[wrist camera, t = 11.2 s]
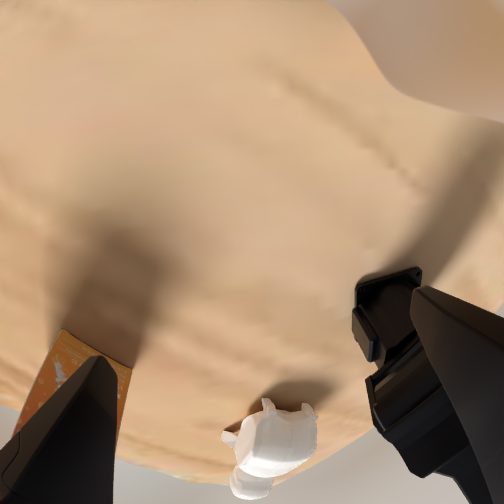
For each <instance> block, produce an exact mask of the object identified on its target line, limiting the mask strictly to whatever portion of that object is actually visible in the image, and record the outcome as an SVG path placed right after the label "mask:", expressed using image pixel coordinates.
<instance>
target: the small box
mask: <svg viewBox="0 0 504 504" xmlns="http://www.w3.org/2000/svg"><path fill="white" fill-rule="evenodd" d="M93 355H103V354H101V353H100V352H98V351H96V350H94V349H93V348H91V347H89V346H88V345H86V344H85V343H83V342H81V341H80V340H78V339H77V338H75V337H74V336H72V335H71V334H69V333H68V332H67V331H65V330H64V329H61V330H60V332H59V334H58V335H57V337H56V339H55V341H54V343H53V345H52V347H51V348H50V350H49V352H48V354H47V356H46V358H45V360H44V362H43V364H42V366H41V368H40V370H39V372H38V374H37V377H36V379H35V381H34V383H33V385H32V387H31V390H30V392H29V394H28V397H27V399H26V401H25V403H24V406H23V408H22V411H21V413H20V416H19V418H18V421H17V423H16V426H15V428H14V431H13V434H12V437H13V436H14V435H15V434H16V433H17V432H18V431H19V430H20V429H21V428H22V426H23V425H24V424H25V423H26V422H27V421H28V420H29V419H30V418H31V417H32V416H33V415H34V414H35V413H36V411H37V410H38V409H39V408H40V407H41V406H42V405H43V404H44V403H45V402H46V401H47V400H48V399H49V398H50V397H51V396H52V395H53V394H54V393H55V391H56V390H57V389H58V388H59V387H60V386H61V385H62V384H63V383H64V382H65V381H66V380H67V379H68V378H69V377H70V376H71V375H72V374H73V373H74V372H75V371H76V370H77V369H78V368H79V367H80V366H81V365H82V364H83V363H84V362H85V361H86V360H87V359H88V358H89V357H90V356H93ZM103 356H105V355H103ZM105 357H106V359H107V360H108V362H109V363H110V365H111V366H112V367H113V369H114V370H115V372H116V374H117V377H118V403H117V434H116V446H117V440H118V435H119V430H120V425H121V420H122V416H123V411H124V406H125V402H126V397H127V392H128V388H129V384H130V379H131V375H132V370H131V369H129V368H127V367H125V366H123V365H121V364H119V363H117V362H115V361H114V360H112V359H110V358H108V357H107V356H105ZM12 437H11V438H12ZM116 446H115V452H116Z"/></svg>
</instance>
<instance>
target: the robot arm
mask: <svg viewBox="0 0 504 504" xmlns="http://www.w3.org/2000/svg"><path fill="white" fill-rule="evenodd" d="M421 279H422V270H421V269H420V268H419V267H414V268H411V269H408V270H404V271H401V272H398V273H394V274H391V275H388V276H384V277H381V278H377V279H374V280H370V281H367V282H363V283H360V284H358V285H357V286H356V287H355V308H353V310H352V332H353V334H354V338H355V340H356V341H357V342H358V343H359V345H360V347H361V349H362V351H363V353H364V355H365V357H366V359H367V361H368V362H370V363H371V362H375V363H376V365H377V367H378V369H379V370H377V371H376V372H375V373H374V374H373V375H370V376H369V377H367V378H366V379H365V383H366V388H367V393H368V399H369V404H370V409H371V415H372V421H373V425H374V426H375V427H376V428H377V431H378V432H379V433H380V434H381V435H382V436H383V437H384V438H385V439H386V440H387V441H388V442H390V443H392V444H393V445H394V446H395V448H396V449H397V450H398V452H399V453H400V455H401V457H402V458H403V460H404V462H405V464H406V466H407V467H408V469H409V471H410V472H411V473H413V474H415V475H416V476H418V477H420V478H425V477H426V476H428V475H430V474H431V473H433V472H434V473H437V474H441V475H444V476H448V477H451V478H453V479H454V481H455V482H456V483H457V485H458V486H459V488H460V490H461V491H462V493H463V494H464V496H465V497H466V499H467V500H468V502H469V504H504V318H503V317H501V316H498V315H496V314H494V313H491V312H489V311H487V310H484V309H482V308H480V307H477V306H475V305H473V304H470V303H468V302H466V301H463V300H461V299H459V298H456V297H454V296H452V295H449V294H447V293H444V292H442V291H439V290H437V289H435V288H432V287H430V286H427V285H425V286H421ZM362 288H363V289H362ZM360 289H362V290H361V291H360ZM117 403H118V377H117V374H116V372H115V370H114V369H113V367H112V366H111V365H110V363H109V362H108V360H107V359H106V357H105V356H103V355H93V356H90V357H89V358H88V359H87V360H86V361H85V362H84V363H83V364H82V365H81V366H80V367H79V368H78V369H77V370H76V371H75V372H74V373H73V374H72V375H71V376H70V377H69V378H68V379H67V380H66V381H65V382H64V383H63V384H62V385H61V386H60V387H59V388H58V389H57V390H56V391H55V393H54V394H53V395H52V396H51V397H50V398H49V399H48V400H47V401H46V402H45V403H44V404H43V405H42V406H41V407H40V408H39V409H38V410H37V411H36V413H35V414H34V415H33V416H32V417H31V418H30V419H29V420H28V421H27V422H26V423H25V424H24V425H23V426H22V428H21V429H20V430H19V431H18V432H17V433H16V434H15V435H14V436H13V437H12V438H11V440H10V441H9V442H8V443H7V444H6V445H5V446H4V447H3V448H2V449H1V450H0V504H113V480H114V460H115V446H116V434H117Z"/></svg>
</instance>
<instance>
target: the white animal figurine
mask: <svg viewBox="0 0 504 504" xmlns="http://www.w3.org/2000/svg"><path fill="white" fill-rule="evenodd" d="M301 404H302V409H301V411H296V412H288V411H285V410H276V408H275V405H274V404H273V403H272V402H271V400H270V399H269V398H263V397H262V405H263V411H260V412H257V413H255V414H252V415H249V416H247V417H246V418H245V419H244V420H243V422H242V426H241V430H240V431H239V434H237V433H232V432H228V431H223V433H222V435H221V438H222V440H223V441H224V442H225V443H226V444H227V445H228V446H230V447H231V448H232V449H233V450H234V451H235V455H236V459H237V465H236V466H235V468H234V471H233V472H232V474H231V475H230V486H231V489H232V491H233V494H234V495H235V496H236V497H239V498H242V499H247V500H254V499H259V498H262V497H265V496H267V495H268V494H269V492H270V490H271V486H272V484H273V481H274V477H275V476H279V475H282V474H285V473H287V472H289V471H290V470H292V469H294V468H296V467H298V466H299V465H300V464H302V463H303V462H305V461H306V460H308V459H309V458H310V457H311V456H312V455H313V453H314V451H315V449H316V445H317V444H316V442H317V424H316V422H315V420H316V419H317V418H318V416H317V415H316V414H315V413H313V412H312V411H313V409H312V407H310V405H309V404H308V403H301Z"/></svg>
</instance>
